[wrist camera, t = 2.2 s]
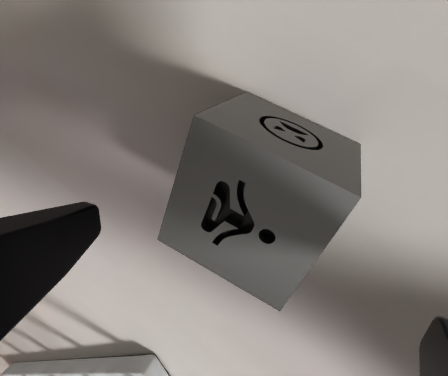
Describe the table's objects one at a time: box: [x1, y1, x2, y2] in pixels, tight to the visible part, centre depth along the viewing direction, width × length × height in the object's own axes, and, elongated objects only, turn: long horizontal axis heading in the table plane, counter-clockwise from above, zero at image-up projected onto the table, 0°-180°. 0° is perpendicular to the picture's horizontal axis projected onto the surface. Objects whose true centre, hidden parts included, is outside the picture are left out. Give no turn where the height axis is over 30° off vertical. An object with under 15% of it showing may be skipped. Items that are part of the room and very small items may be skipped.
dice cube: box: [158, 92, 361, 311], centre depth 12 cm, size 5×5×5 cm
